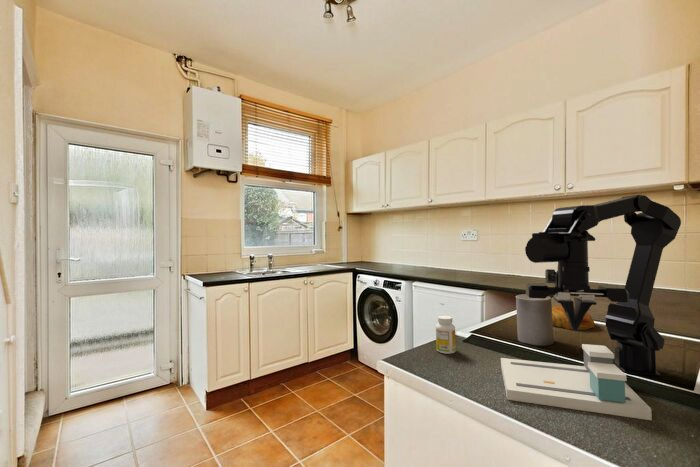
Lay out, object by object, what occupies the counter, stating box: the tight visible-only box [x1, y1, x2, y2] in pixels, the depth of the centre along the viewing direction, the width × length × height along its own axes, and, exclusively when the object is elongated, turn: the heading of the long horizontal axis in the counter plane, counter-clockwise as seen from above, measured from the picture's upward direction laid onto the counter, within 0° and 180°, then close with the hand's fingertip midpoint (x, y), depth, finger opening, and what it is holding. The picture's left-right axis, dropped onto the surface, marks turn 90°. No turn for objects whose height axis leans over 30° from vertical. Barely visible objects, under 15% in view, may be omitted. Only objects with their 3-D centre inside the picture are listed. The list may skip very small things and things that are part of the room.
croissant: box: [552, 304, 596, 331], centre depth 117 cm, size 14×16×8 cm
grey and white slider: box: [581, 343, 615, 373], centre depth 72 cm, size 4×5×5 cm
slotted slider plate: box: [500, 357, 653, 421], centre depth 70 cm, size 23×18×2 cm
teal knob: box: [588, 362, 627, 403], centre depth 62 cm, size 4×5×5 cm
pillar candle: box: [515, 293, 555, 347], centre depth 101 cm, size 10×10×15 cm
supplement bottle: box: [435, 315, 457, 355], centre depth 94 cm, size 5×5×10 cm
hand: (574, 329), depth 74 cm, fingers closed
